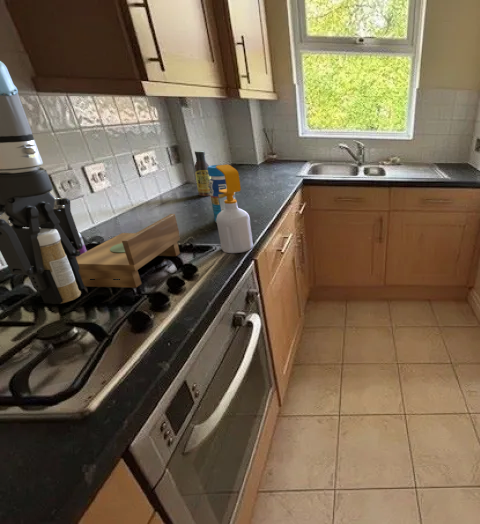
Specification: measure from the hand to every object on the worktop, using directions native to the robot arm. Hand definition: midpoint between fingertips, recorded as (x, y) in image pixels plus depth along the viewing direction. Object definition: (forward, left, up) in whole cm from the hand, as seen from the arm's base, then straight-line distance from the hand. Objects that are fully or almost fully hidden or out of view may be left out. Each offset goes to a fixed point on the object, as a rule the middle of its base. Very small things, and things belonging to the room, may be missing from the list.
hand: (65, 294), depth 62 cm
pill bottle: (-23, +28, -7) cm, 37 cm away
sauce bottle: (-20, +101, -7) cm, 104 cm away
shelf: (-5, +24, -7) cm, 26 cm away
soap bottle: (+17, +39, -7) cm, 44 cm away
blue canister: (+4, +64, -7) cm, 65 cm away
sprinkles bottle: (0, 0, -1) cm, 1 cm away
